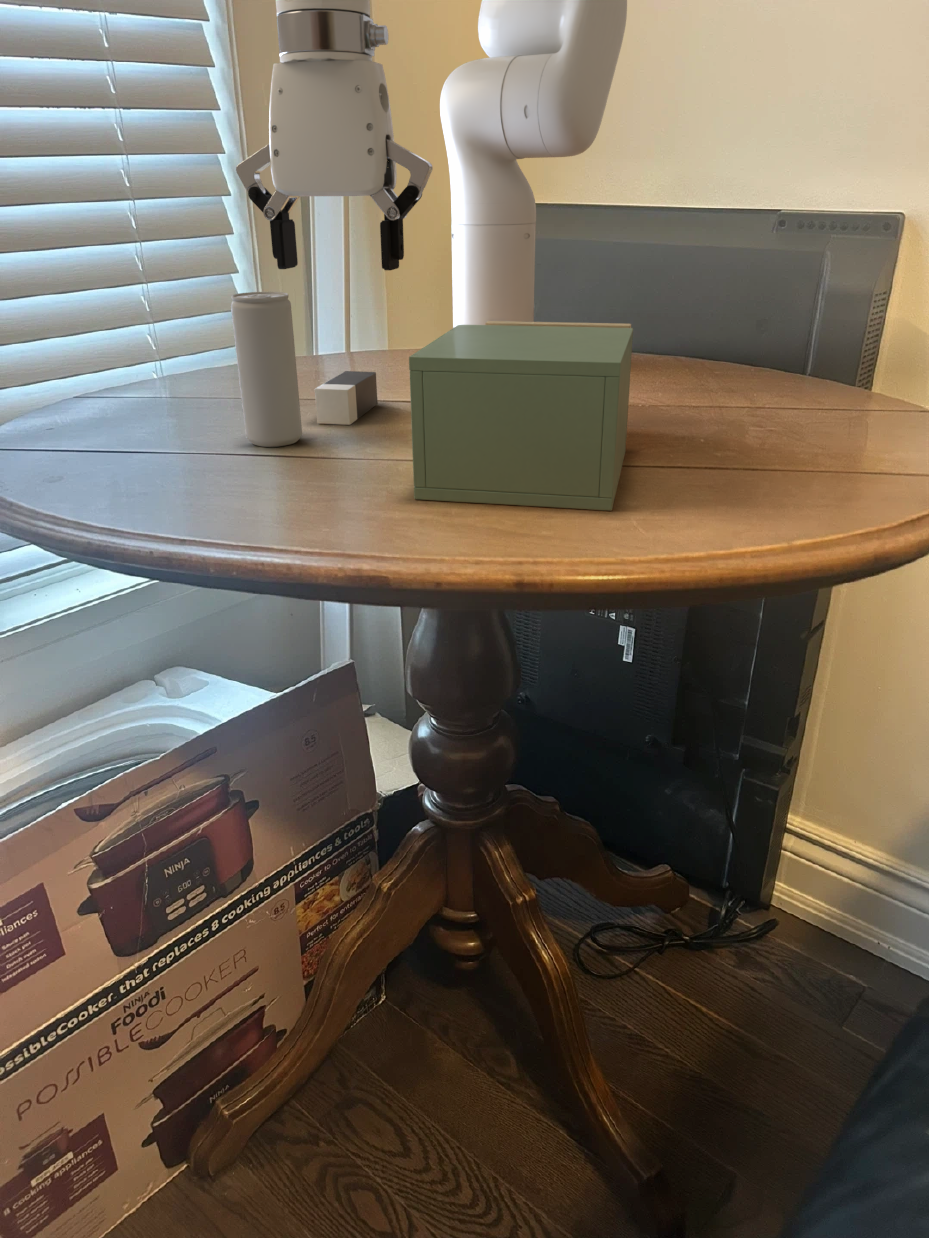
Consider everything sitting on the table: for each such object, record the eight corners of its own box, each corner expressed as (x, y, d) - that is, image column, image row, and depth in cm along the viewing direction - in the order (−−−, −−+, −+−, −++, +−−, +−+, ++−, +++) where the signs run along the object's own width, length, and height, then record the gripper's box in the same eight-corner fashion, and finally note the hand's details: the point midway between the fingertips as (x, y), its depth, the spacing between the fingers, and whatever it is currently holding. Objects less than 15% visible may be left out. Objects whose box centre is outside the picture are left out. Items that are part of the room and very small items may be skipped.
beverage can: (290, 449, 77) (276, 298, 72) (237, 447, 78) (219, 298, 73) (310, 435, 82) (298, 291, 77) (259, 432, 83) (244, 291, 77)
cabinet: (459, 445, 78) (458, 324, 74) (625, 452, 75) (633, 328, 71) (413, 499, 65) (408, 356, 61) (611, 511, 62) (620, 362, 58)
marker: (347, 403, 93) (345, 370, 92) (377, 404, 92) (376, 371, 91) (317, 423, 86) (314, 388, 84) (350, 425, 85) (347, 389, 84)
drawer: (497, 399, 90) (497, 314, 86) (628, 403, 87) (634, 316, 84) (455, 448, 74) (453, 346, 70) (614, 455, 71) (621, 350, 68)
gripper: (439, 47, 77) (442, 266, 84) (245, 54, 80) (265, 264, 88) (416, 34, 70) (422, 273, 78) (206, 42, 74) (230, 271, 81)
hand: (338, 268), depth 83 cm, fingers open, 9 cm apart
